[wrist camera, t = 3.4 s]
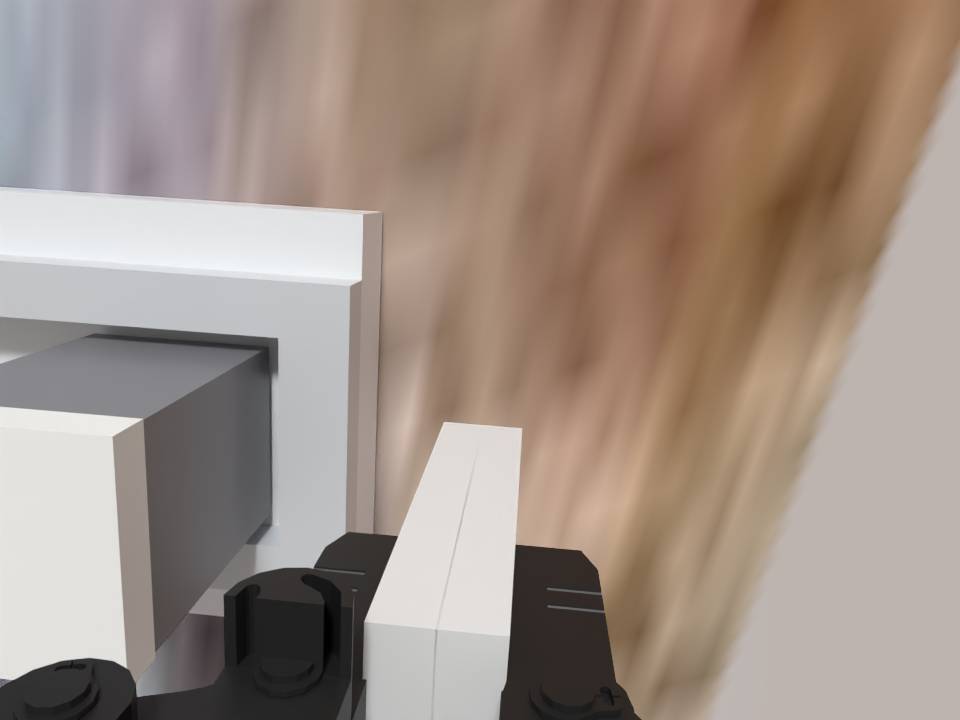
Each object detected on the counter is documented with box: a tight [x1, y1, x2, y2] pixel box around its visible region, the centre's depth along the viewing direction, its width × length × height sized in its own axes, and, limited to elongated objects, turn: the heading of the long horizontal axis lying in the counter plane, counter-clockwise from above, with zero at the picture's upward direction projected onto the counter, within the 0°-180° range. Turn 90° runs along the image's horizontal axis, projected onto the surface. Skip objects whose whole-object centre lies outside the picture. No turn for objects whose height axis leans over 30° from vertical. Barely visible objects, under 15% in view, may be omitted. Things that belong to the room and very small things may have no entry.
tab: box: [0, 333, 270, 683], centre depth 13 cm, size 4×4×6 cm
